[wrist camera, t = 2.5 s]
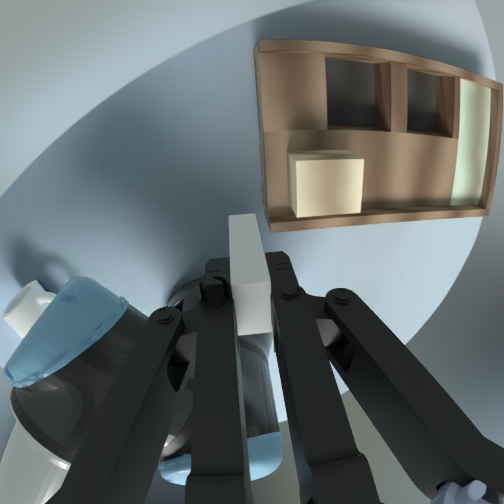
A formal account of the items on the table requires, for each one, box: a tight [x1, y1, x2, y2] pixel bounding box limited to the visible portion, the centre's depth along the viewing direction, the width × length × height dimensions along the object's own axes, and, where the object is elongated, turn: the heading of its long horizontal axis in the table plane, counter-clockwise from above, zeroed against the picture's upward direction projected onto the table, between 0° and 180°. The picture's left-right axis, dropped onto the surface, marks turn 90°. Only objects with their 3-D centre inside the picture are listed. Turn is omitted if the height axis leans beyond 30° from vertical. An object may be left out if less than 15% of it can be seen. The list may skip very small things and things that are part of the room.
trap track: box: [254, 40, 503, 233], centre depth 27 cm, size 30×18×6 cm, turn 94°
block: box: [287, 150, 364, 218], centre depth 26 cm, size 6×5×4 cm
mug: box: [3, 280, 57, 339], centre depth 34 cm, size 12×10×8 cm
